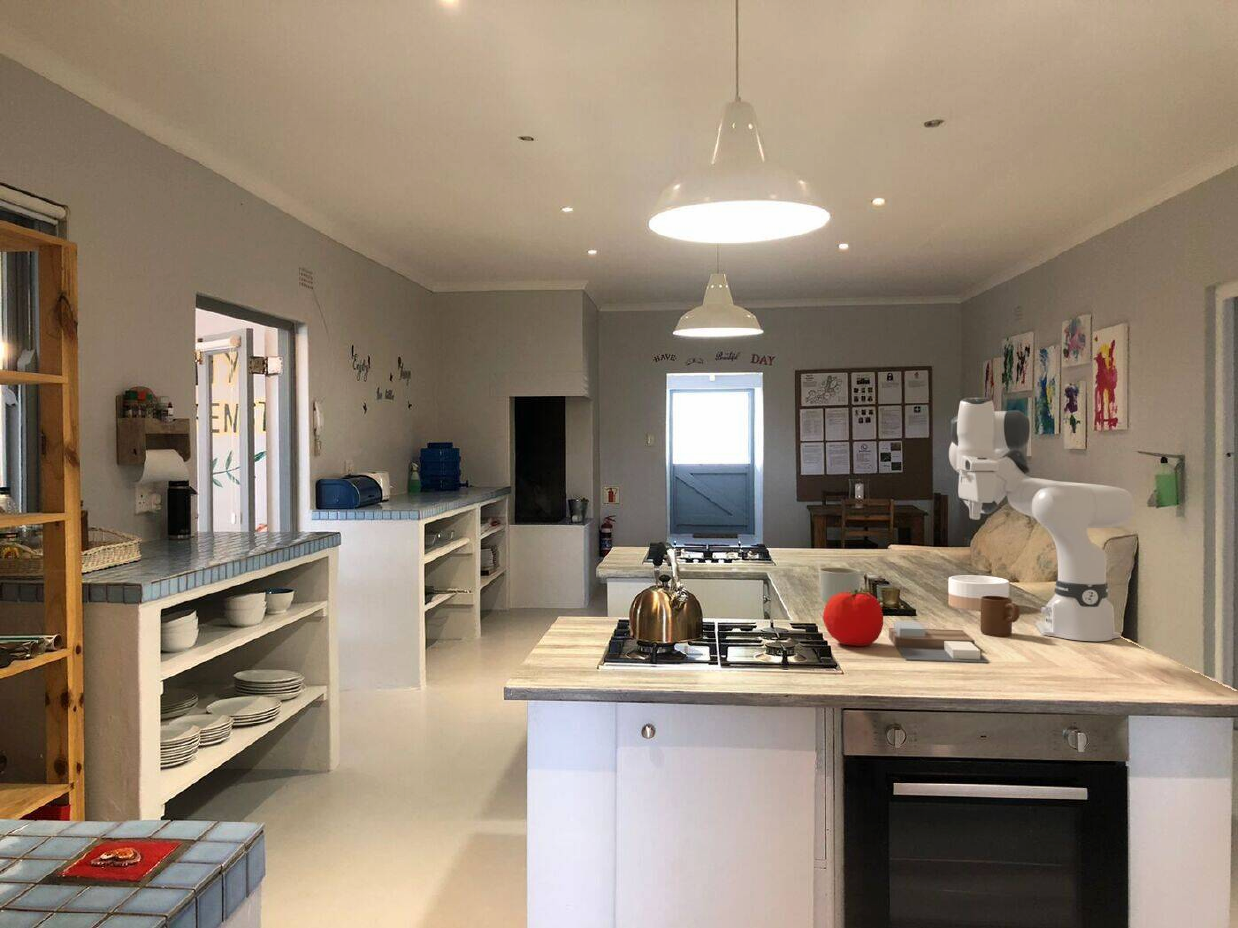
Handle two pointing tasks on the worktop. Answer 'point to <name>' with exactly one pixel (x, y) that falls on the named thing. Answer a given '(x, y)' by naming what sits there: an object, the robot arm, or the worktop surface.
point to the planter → (838, 581)
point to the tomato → (853, 618)
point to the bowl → (975, 590)
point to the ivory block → (961, 650)
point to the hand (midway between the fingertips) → (974, 519)
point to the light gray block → (909, 629)
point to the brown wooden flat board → (929, 638)
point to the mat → (933, 655)
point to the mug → (998, 615)
